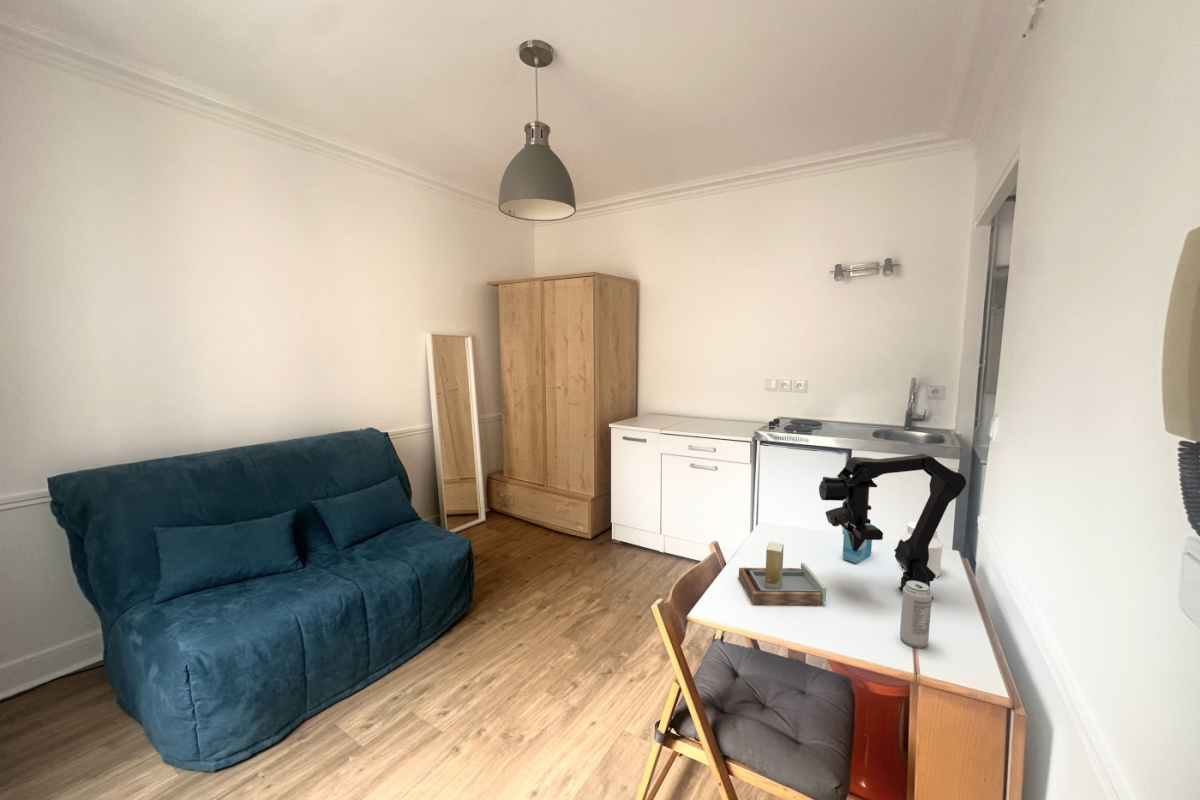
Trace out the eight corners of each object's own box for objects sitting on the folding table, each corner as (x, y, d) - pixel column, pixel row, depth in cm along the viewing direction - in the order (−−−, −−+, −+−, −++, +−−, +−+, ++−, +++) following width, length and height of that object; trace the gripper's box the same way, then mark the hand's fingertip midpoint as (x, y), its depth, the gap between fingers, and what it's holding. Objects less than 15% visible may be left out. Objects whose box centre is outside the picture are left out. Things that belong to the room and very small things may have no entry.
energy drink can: (917, 634, 125) (921, 579, 123) (933, 648, 119) (938, 590, 117) (894, 635, 125) (898, 579, 123) (910, 649, 119) (914, 591, 117)
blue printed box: (855, 564, 165) (857, 531, 163) (842, 560, 168) (843, 527, 167) (871, 555, 172) (873, 523, 171) (858, 551, 176) (860, 519, 174)
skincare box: (767, 578, 151) (769, 540, 150) (782, 581, 149) (784, 543, 148) (764, 587, 145) (765, 548, 144) (779, 591, 143) (781, 551, 142)
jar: (945, 572, 159) (948, 528, 157) (933, 580, 153) (936, 535, 152) (906, 560, 168) (909, 518, 166) (893, 567, 163) (896, 524, 161)
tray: (803, 574, 155) (804, 562, 155) (825, 601, 139) (826, 588, 138) (747, 574, 156) (747, 562, 155) (762, 600, 139) (763, 587, 139)
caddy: (799, 578, 155) (799, 568, 155) (820, 605, 139) (821, 594, 139) (738, 578, 156) (739, 567, 155) (753, 605, 139) (753, 593, 139)
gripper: (816, 491, 153) (814, 538, 155) (844, 511, 134) (841, 564, 136) (852, 491, 153) (850, 538, 154) (885, 511, 134) (882, 565, 136)
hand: (854, 551), depth 145 cm, fingers closed
